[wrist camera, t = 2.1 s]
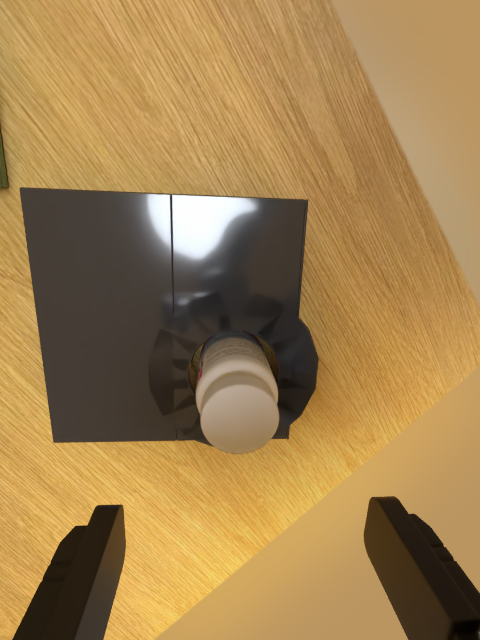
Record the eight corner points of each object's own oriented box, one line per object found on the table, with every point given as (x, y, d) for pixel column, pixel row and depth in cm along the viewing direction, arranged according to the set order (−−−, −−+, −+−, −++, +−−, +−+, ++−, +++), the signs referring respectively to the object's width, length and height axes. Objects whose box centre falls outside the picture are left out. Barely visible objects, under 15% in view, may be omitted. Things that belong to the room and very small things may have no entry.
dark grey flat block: (319, 204, 22) (335, 200, 19) (299, 422, 26) (309, 446, 23) (46, 193, 20) (18, 187, 18) (72, 425, 25) (54, 451, 22)
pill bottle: (189, 341, 24) (176, 398, 16) (250, 316, 24) (268, 361, 15) (214, 395, 25) (215, 474, 17) (272, 372, 25) (300, 440, 17)
